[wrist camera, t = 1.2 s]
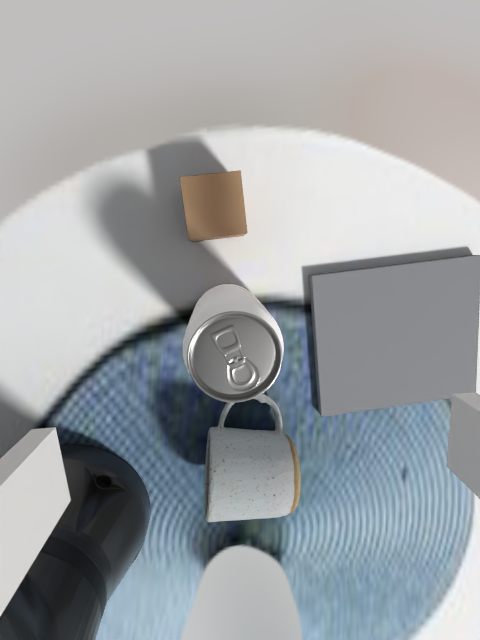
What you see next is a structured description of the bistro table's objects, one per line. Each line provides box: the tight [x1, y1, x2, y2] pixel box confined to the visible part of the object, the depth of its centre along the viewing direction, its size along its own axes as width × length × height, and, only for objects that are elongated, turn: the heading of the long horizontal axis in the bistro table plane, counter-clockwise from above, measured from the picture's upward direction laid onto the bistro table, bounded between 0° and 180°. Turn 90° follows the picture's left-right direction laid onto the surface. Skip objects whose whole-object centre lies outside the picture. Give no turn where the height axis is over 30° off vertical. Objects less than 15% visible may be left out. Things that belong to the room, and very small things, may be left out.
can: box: [183, 284, 284, 403], centre depth 25 cm, size 6×6×12 cm
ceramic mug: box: [204, 393, 301, 522], centre depth 30 cm, size 11×8×8 cm
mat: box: [309, 255, 480, 417], centre depth 32 cm, size 16×14×1 cm
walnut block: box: [180, 171, 247, 242], centre depth 27 cm, size 4×4×4 cm
